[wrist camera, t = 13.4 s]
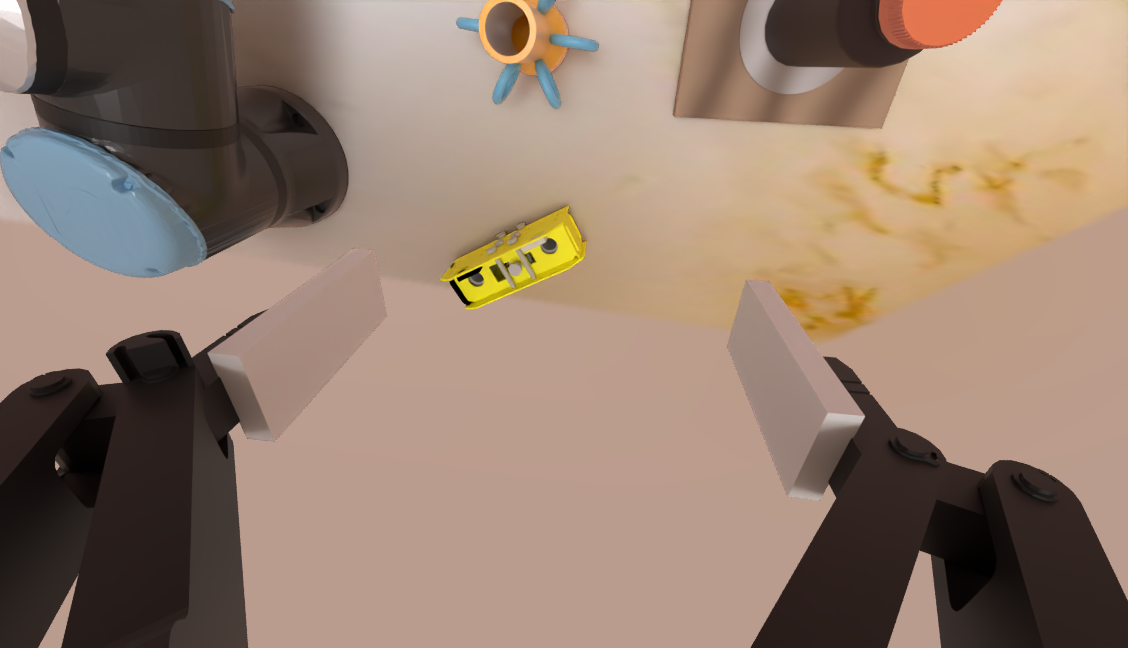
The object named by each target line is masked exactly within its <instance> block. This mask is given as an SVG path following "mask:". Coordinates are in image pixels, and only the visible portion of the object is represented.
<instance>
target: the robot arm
mask: <svg viewBox="0 0 1128 648" xmlns="http://www.w3.org/2000/svg"><path fill="white" fill-rule="evenodd" d="M234 11H235V10H234V5H233V3H232V1H231V0H0V91H3V92H9V93H17V94H31V98H32V101H33V104H34V107H35V111H36V115H37V118H38V121H39V125H40V128H39V127H36V128H29V129H25V130H22V131H20V132H19V133H18V134H16V135H14V136H12V137H10V138H9V139H8V140H7V142H6V145H7V146H5V147H3V148H2V149H1V152H0V165H1V170H2V174H3V177H4V179H5V181H6V184H7V186H8V188H9V189H10V191H11V193H12V194H13V196H14V198H15V199H16V200H17V202H18V203H19V205H20V206H21V207H22V208H23V210H24V211H25V212H26V213H27V214H28V215H29V216H30V218H31V219H32V220H33V221H34V222H35V223H36V224H37V225H38V226H39V227H40V228H41V229H43V230H44V231H45V232H46V233H47V234H48V235H49V236H51V237H52V238H54V239H55V240H57V241H58V242H59V243H60V244H61V245H63V246H64V247H65V248H66V249H68V250H69V251H71V252H72V253H74V254H76V255H77V256H79V257H81V258H82V259H84V260H86V261H88V262H90V263H93V264H94V265H96V266H98V267H101V268H103V269H106V270H108V271H111V272H114V273H118V274H122V275H126V276H131V277H141V278H152V277H159V276H163V275H166V274H169V273H172V272H174V271H177V270H179V269H182V268H184V267H190V266H195V265H197V264H199V263H200V262H202V261H203V260H205V259H207V258H209V257H211V256H213V255H215V254H217V253H219V252H221V251H223V250H225V249H227V248H229V247H231V246H233V245H235V244H237V243H239V242H241V241H243V240H245V239H247V238H249V237H251V236H253V235H255V234H257V233H259V232H261V231H262V230H264V229H266V228H276V227H302V226H307V225H311V224H314V223H316V222H318V221H320V220H322V219H324V218H326V217H328V216H329V215H331V214H332V213H333V212H334V211H335V210H336V209H337V208H338V207H339V206H340V204H341V203H342V201H343V199H344V196H345V193H346V189H347V183H348V172H347V165H346V160H345V156H344V153H343V150H342V148H341V146H340V143H339V141H338V139H337V137H336V136H335V134H334V132H333V131H332V129H331V128H330V126H329V125H328V124H327V122H326V121H325V120H324V119H323V118H322V116H321V115H320V114H319V113H318V112H317V111H316V110H315V109H313V108H312V107H311V106H310V105H309V104H307V103H306V102H305V101H303V100H302V99H300V98H299V97H297V96H295V95H293V94H291V93H289V92H287V91H285V90H282V89H279V88H275V87H270V86H248V87H239V88H237V82H236V70H235V57H234V44H233V32H232V19H231V13H234ZM386 317H387V314H386V309H385V304H384V298H383V294H382V288H381V283H380V278H379V273H378V267H377V262H376V257H375V252H374V250H369V249H357V248H353V249H352V250H350V251H349V252H348V253H346V254H345V255H343V256H342V257H341V258H339V259H338V260H336V261H335V262H334V263H332V264H331V265H329V266H328V267H327V268H325V269H324V270H322V271H321V272H320V273H318V274H317V275H316V276H314V277H313V278H311V279H310V280H309V281H307V282H306V283H304V284H303V285H302V286H300V287H299V288H297V289H296V290H295V291H293V292H292V293H290V294H289V295H288V296H286V297H285V298H284V299H282V300H281V301H279V302H278V303H276V304H275V305H274V306H272V307H271V308H269V309H267V310H265V311H262V312H260V313H258V314H255V315H253V316H251V317H249V318H248V319H246V320H245V321H244V322H242V323H241V324H239V325H238V326H237V328H234V329H232V330H231V331H230V332H228V333H226V336H222V337H221V338H219V339H218V340H216V341H215V342H214V343H212V344H211V345H209V346H208V347H207V348H205V349H204V350H202V351H201V352H199V353H198V354H196V355H195V356H194V357H192V358H191V356H190V353H189V351H188V350H187V347H186V345H185V344H184V341H183V339H182V337H181V336H180V333H178V332H175V331H170V330H159V331H152V332H147V333H143V334H140V335H136V336H132V337H130V338H128V339H125V340H123V341H121V342H119V343H118V344H116V345H114V346H113V347H111V348H110V349H109V350H108V352H107V353H106V356H107V357H108V359H109V361H110V362H111V364H112V366H113V367H114V369H115V371H116V372H117V374H118V375H119V377H120V379H121V380H122V382H123V383H115V384H105V385H98V384H97V382H96V381H95V379H94V378H93V376H92V375H91V373H90V372H89V371H88V370H84V369H66V370H61V371H53V372H49V373H46V375H40V376H37V377H35V378H34V379H33V380H31V381H29V382H26V383H25V384H23V385H21V386H19V387H18V388H17V389H15V390H14V391H12V392H11V393H10V394H9V395H8V396H7V397H6V398H5V399H4V400H3V401H2V402H1V403H0V648H38V647H39V645H40V643H41V641H42V640H43V638H44V636H45V634H46V632H47V630H48V629H49V627H50V625H51V623H52V621H53V620H54V617H55V616H56V614H57V612H58V610H59V609H60V607H61V605H62V603H63V601H64V600H65V598H66V596H67V594H68V592H69V590H70V589H71V587H72V585H73V583H74V581H75V579H76V577H77V576H78V579H77V583H76V587H75V592H74V596H73V600H72V605H71V609H70V613H69V617H68V621H67V626H66V630H65V634H64V638H63V643H62V647H61V648H248V641H247V626H246V613H245V598H244V586H243V571H242V558H241V545H240V544H241V543H240V529H239V516H238V501H237V489H236V488H237V487H236V474H235V460H234V446H233V441H232V439H231V437H230V435H229V433H228V432H229V431H230V430H231V429H233V427H235V425H237V424H238V423H239V422H240V424H241V427H242V429H243V431H244V433H245V435H246V437H247V439H254V440H263V441H272V442H275V441H276V440H277V438H279V437H280V435H281V434H282V433H283V432H284V431H285V430H286V429H287V428H288V426H289V425H290V424H291V423H292V422H293V421H294V420H295V419H296V418H297V416H298V415H299V414H300V413H301V412H302V411H303V409H305V407H306V406H307V405H308V404H309V403H310V402H311V401H312V400H313V398H314V397H315V396H316V395H317V394H318V393H319V392H320V391H321V389H322V388H323V387H324V386H325V385H326V384H327V383H328V382H329V380H330V379H331V378H332V377H333V376H334V375H335V374H336V373H337V371H338V370H339V369H340V368H341V367H342V366H343V365H344V364H345V363H346V361H347V360H348V359H349V358H350V357H351V356H352V355H353V353H354V352H355V351H356V350H357V349H358V348H359V347H360V346H361V345H362V343H363V342H364V341H365V340H366V339H367V338H368V337H369V336H370V334H371V333H372V332H373V331H374V330H375V329H376V328H377V327H378V326H379V324H380V323H381V322H382V321H383V320H384V319H385V318H386ZM727 348H728V350H729V352H730V355H731V357H732V360H733V362H734V365H735V367H736V370H737V372H738V375H739V377H740V380H741V382H742V385H743V387H744V390H745V392H746V395H747V397H748V400H749V402H750V405H751V407H752V410H753V412H754V415H755V417H756V420H757V422H758V425H759V427H760V430H761V432H762V435H763V437H764V440H765V442H766V445H767V447H768V450H769V452H770V455H771V457H772V460H773V462H774V465H775V467H776V470H777V472H778V475H779V477H780V480H781V482H782V485H783V487H784V490H785V492H786V495H787V497H791V498H801V499H810V500H819V501H820V499H821V497H822V496H823V494H824V492H825V490H826V488H827V486H828V484H829V485H830V487H831V489H832V490H833V492H834V494H835V496H836V500H835V502H834V503H833V505H832V507H831V509H830V510H829V512H828V514H827V515H826V517H825V519H824V521H823V522H822V524H821V526H820V528H819V530H818V531H817V533H816V535H815V536H814V538H813V540H812V542H811V543H810V545H809V547H808V549H807V550H806V552H805V554H804V556H803V557H802V559H801V561H800V563H799V564H798V566H797V568H796V570H795V571H794V573H793V575H792V576H791V578H790V580H789V582H788V584H787V585H786V587H785V589H784V590H783V592H782V594H781V596H780V597H779V599H778V601H777V603H776V604H775V606H774V608H773V609H772V611H771V613H770V615H769V617H768V618H767V620H766V622H765V623H764V625H763V627H762V629H761V630H760V632H759V634H758V636H757V637H756V639H755V641H754V643H753V644H752V646H751V648H887V647H888V644H889V640H890V638H891V635H892V632H893V628H894V625H895V623H896V619H897V616H898V613H899V610H900V607H901V604H902V601H903V598H904V595H905V592H906V589H907V586H908V583H909V580H910V577H911V574H912V571H913V568H914V565H915V562H916V559H917V556H918V553H919V550H920V551H923V552H925V553H928V554H931V560H932V569H933V577H934V587H935V595H936V605H937V614H938V622H939V631H940V640H941V648H1128V600H1127V598H1126V596H1125V594H1124V592H1123V590H1122V588H1121V585H1120V583H1119V581H1118V579H1117V577H1116V575H1115V573H1114V571H1113V569H1112V567H1111V565H1110V562H1109V560H1108V558H1107V556H1106V554H1105V552H1104V550H1103V548H1102V546H1101V544H1100V541H1099V539H1098V537H1097V535H1096V533H1095V531H1094V529H1093V527H1092V525H1091V523H1090V521H1089V518H1088V517H1087V514H1086V512H1085V510H1084V508H1083V506H1082V504H1081V502H1080V501H1079V499H1078V498H1077V497H1076V495H1075V494H1074V493H1073V492H1072V491H1071V490H1070V489H1069V488H1068V487H1066V486H1065V485H1064V484H1063V483H1062V482H1060V481H1059V480H1058V479H1056V478H1055V477H1053V476H1052V475H1049V474H1048V473H1046V472H1044V471H1042V470H1040V469H1037V468H1034V467H1032V466H1030V465H1027V464H1024V463H1020V462H1016V461H1012V460H999V461H998V462H996V463H994V464H993V465H992V466H991V467H990V468H989V470H988V471H987V472H986V473H985V474H984V473H981V472H978V471H975V470H971V469H968V468H965V467H961V466H958V465H955V464H952V463H948V462H946V458H945V457H944V455H943V454H942V453H941V451H940V450H939V449H938V448H937V447H935V446H934V445H933V444H932V443H931V442H929V441H928V440H926V439H925V438H923V437H921V436H919V435H917V434H916V433H913V432H910V431H907V430H905V429H901V428H897V427H896V425H895V424H894V423H893V421H892V420H891V419H890V418H889V416H888V415H887V414H886V412H885V411H884V410H883V409H882V407H881V406H880V405H879V404H878V402H877V401H876V400H875V398H874V397H873V396H872V395H870V392H869V391H868V389H867V388H866V387H865V385H863V384H862V382H861V380H860V379H859V378H858V377H857V375H856V374H855V373H854V371H853V370H852V369H851V368H849V367H848V366H847V365H845V364H844V363H842V362H841V361H840V360H838V359H837V358H834V357H823V356H822V355H821V353H820V352H819V351H818V349H817V348H816V346H815V345H814V344H813V342H812V341H811V339H810V338H809V337H808V335H807V334H806V332H805V331H804V330H803V328H802V327H801V325H800V324H799V323H798V321H797V320H796V318H795V317H794V316H793V314H792V313H791V311H790V310H789V308H788V307H787V306H786V304H785V303H784V301H783V300H782V299H781V297H780V296H779V294H778V293H777V292H776V290H775V289H774V287H773V286H772V285H771V283H770V282H769V281H761V280H748V279H746V281H745V285H744V288H743V292H742V295H741V299H740V302H739V306H738V309H737V313H736V316H735V320H734V323H733V327H732V330H731V334H730V337H729V341H728V344H727ZM55 461H56V462H57V463H58V464H59V466H60V467H59V468H58V470H57V471H56V469H55ZM78 574H79V575H78Z"/></svg>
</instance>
